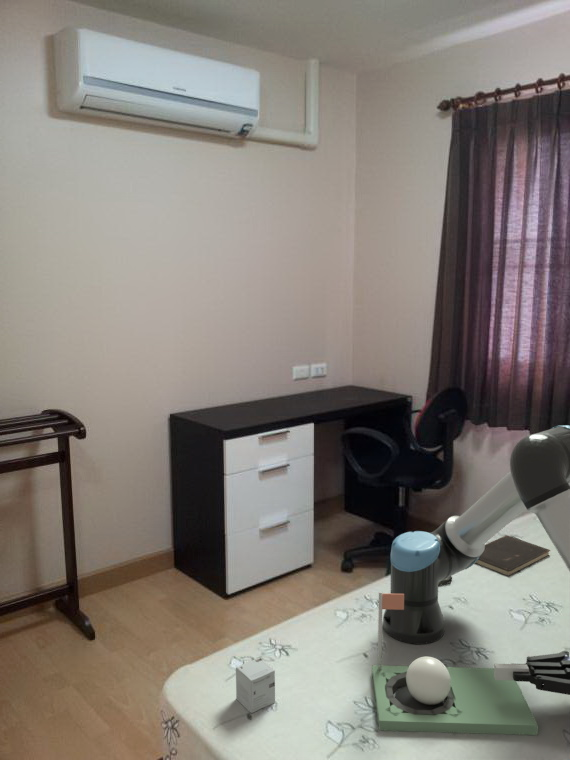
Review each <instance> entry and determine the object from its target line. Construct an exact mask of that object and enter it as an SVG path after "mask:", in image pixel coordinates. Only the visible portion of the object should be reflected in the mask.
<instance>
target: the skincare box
mask: <svg viewBox="0 0 570 760" xmlns="http://www.w3.org/2000/svg"><path fill="white" fill-rule="evenodd" d="M275 672H276V670H275V669H274V668H273V667H271V666H270V664H268V663H267V662H266V661H264V660H263V658H261V657H257V658H255V659H253V660H249V661H247V662H244V663H242V664H240V665H238V666H235V690H236V691H235V699H236V700H237V701H238V702H239V703H240V704H241V705H242V706H243V707H244V708H245V709H246V710H247V711H248V712H249V713H251V714H253V713H255V712H257V711H259V710H262V709H263V708H266V707H268V706H271V705H274V704H275V703H276V677H275V676H276V675H275V674H276V673H275Z"/></svg>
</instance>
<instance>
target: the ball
mask: <svg viewBox="0 0 570 760" xmlns="http://www.w3.org/2000/svg"><path fill="white" fill-rule="evenodd" d="M446 667H447V666H445V665H444V663H443V662H442V661H440V660H439V659H437V658H435V657H433V656H420V657H417V658H416V659H415V660H413V661H412V662H411V663H410V665H409V668H408V670H407V674H406V683H407V687H408V690H409V691H410V693H411V695H412V696H413V697H414V698H415V699H416V700H417V701H419V702H421V703H423V704H427V705H434V704H438V703H440V702H442V701H443V700H444V701H445V698H446V697H447V695H448V694H449V691H450V687H451V679H450V674H449V672H448V670H447V668H446Z"/></svg>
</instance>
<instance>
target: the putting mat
mask: <svg viewBox="0 0 570 760" xmlns="http://www.w3.org/2000/svg"><path fill="white" fill-rule="evenodd" d="M386 609H394V610H404V594H391V593H385V592H384V593H383V591H379V592H378V617H377V618H378V624H377V625H378V627H377V629H378V631H377V634H378V635H377V639H378V640H377V645H378V646H377V665H375V664H374V665H372V667H371V669H372V670H371V674H372V682H373V689H374V698H375V707H376V712H377V713H376V714H377V722H378V728H379V731H391V732H392V731H393V732H395V731H398V732H426V733H427V732H429V733H430V732H431V733H438V732H439V733H460V734H461V733H462V734H463V733H464V734H465V733H466V734H468V733H469V734H493V735H495V734H497V735H498V734H499V735H526V736H528V735H532V736H538V734H539V733H538V730H539V729H538V728H539V725H538V722H537V721H536V718H535V717H534V715H533V712H532V710H531V709H530V706H529V705H528V703H527V701H526V698H525V696H524V694H523V692H522V689H521V688H520V686H519V684H518V681H509V680H495V677H494V667H459V666H458V667H457V666H456V667H454V666H453V667H451V666H445V667H446V668H447V670H448V672H449V674H450V679H451V687H450V691H449V694H448V695H447V697H446V698H445V699H444V700H443V701H442V702H440V703H438V704H434V705H427V704H423V703H421V702H419V701H417V700H416V699H415V698H414V697H413V696H412V695H411V693H410V691H409V690H408V687H407V683H406V674H407V670H408V668H409V666H410V665H409V666H408V665H383V662H382V659H383V657H382V655H383V610H386ZM397 689H398V690H397ZM394 693H395V694H394Z"/></svg>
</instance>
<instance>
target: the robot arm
mask: <svg viewBox="0 0 570 760" xmlns="http://www.w3.org/2000/svg"><path fill="white" fill-rule="evenodd" d="M509 468H510V469H509V470H510V471H509V472H507V473H506V475H504V476H503V477H502V478H501V479H500V480H499V481H498V482H496V483H495V484H494V485H493V486H492V487H491V488H490V489H489V490H488V491H487V492H486V493H484V494H483V495H482V496H481V497H479V499H478V500H477V501H476V502H474V503H473V504H472V505H471V506H470V507H469V508H468V509H467V510H466V511H464V512H463V513H462V514H461V515H460V516H459V515H452V516H450V517H448V518H447V519H446V520H445V521H444V522H443V523H442V524H441V525H440V526H439V527H437V528H436V529H435V530H433V531H432V532H427V531H422V530H415V531H407V532H404V533H403V532H402V533H401V534H399V535H398V536H396V537H395V538H394V539H393V540H392V544H391V548H390V549H391V550H390V555H389V556H390V560H389V561H390V594H404V610H394V609H384V612H383V613H384V614H383V615H382V629H383V630H384V631H385V633H386V634H387V635H389V637H391V638H393V639H395V640H397V641H400V642H403V643H407V644H413V645H414V644H415V645H424V644H431V643H433V642H436V641H439V640H440V639H441V638H442V637H443V635H444V634H445V619H444V617H443V612H442V609H441V607H440V603H439V585H438V583H439V582H440V581H442V580H444V579H446V578H448V577H450V576H451V577H453V576H454V575H455V574H458V573H460V572H462V571H464V570H467V569H469V568H471V567H472V566H473V565H475V564H476V563H475V562H476V561H477V560H478V558H479V556H480V555H481V554H482V553H483V552H484V549H485V545H486V544H487V542H488V541H489V540H490V539H492V538H493V537H494V536H496V534H498V533H499V532H501V531H502V530H503V528H505V527H506V526H508V525H509V524H510V523H511V522H512V521H513V520H515V519H516V518H518V516H520V515H521V514H522V513H523V512H525V511H526V510H527V512H529V513H532V514H534V515H536V517H537V519H538V521H539V522H540V523H541V525H542V527H543V529H544V531H545V532H546V534H547V536H548V538H549V539H550V541H551V542H552V544H553V546H554V548H555V549H556V551H557V553H558V555H559V556H560V558H561V560H562V562H563V563H564V564H565V567H566V568H567V569H568V571H569V573H570V425H568V424H567V425H566V424H565V425H556V426H554V427H551V428H550V429H546V430H543V431H539V432H536V433H533V434H529V435H526V436H525V437H523V438H521V439H520V440H519V441H518V442H517V443H516V444H515V446H514V447H513V448H512V452H511V453H510V458H509ZM493 664H494V665H493V666H494V667H493V668H494V677H495V680H509V681H516V682H525V683H526V682H527V683H530V684H531V685H535V688H536V689H537V690H539V691H543V692H549V693H550V692H551V693H556V694H561V695H568V696H569V695H570V652H569V651H567V650H563V651H560V652H557V653H551V654H550V653H549V654H541V655H533V656H532V655H531V656H527V657H526V662H525V663H493Z"/></svg>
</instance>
